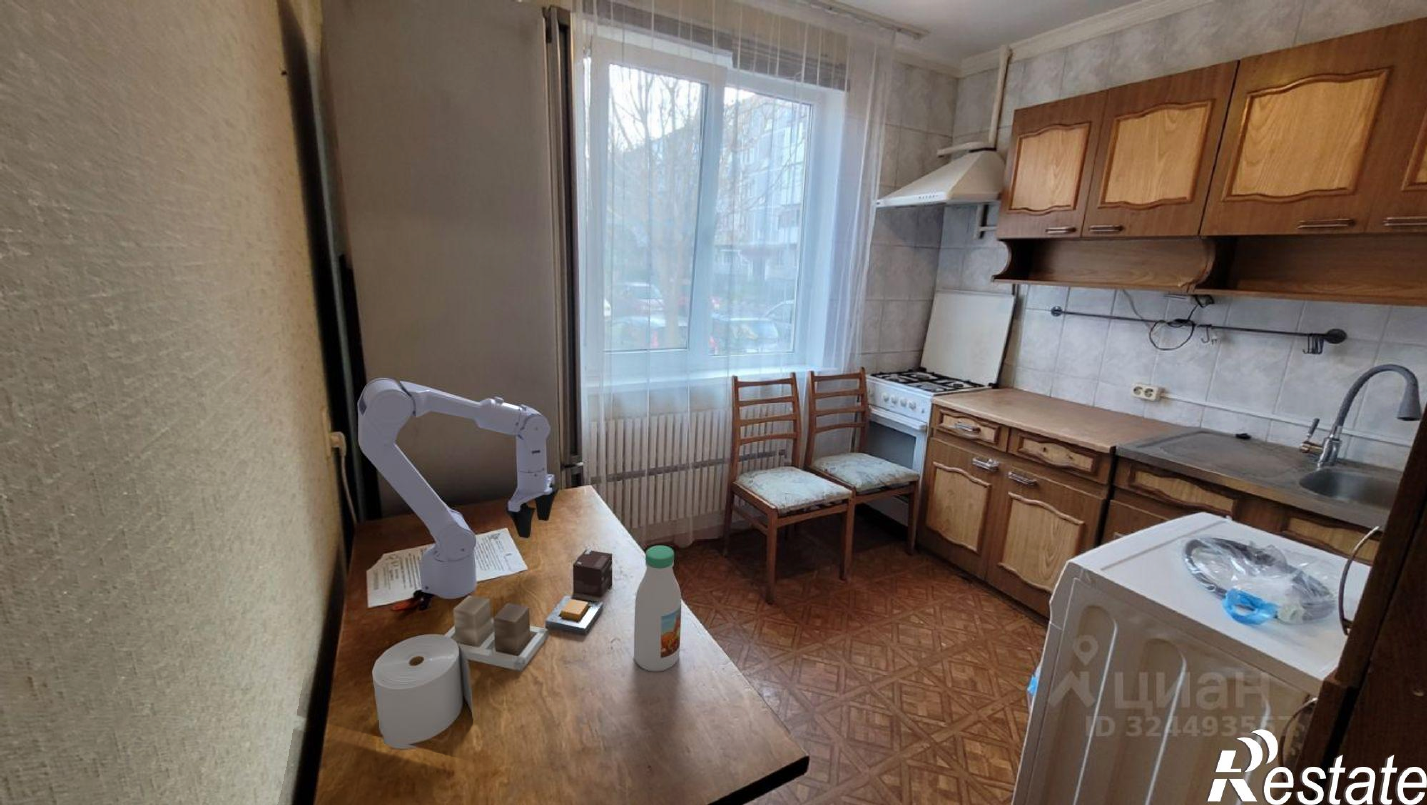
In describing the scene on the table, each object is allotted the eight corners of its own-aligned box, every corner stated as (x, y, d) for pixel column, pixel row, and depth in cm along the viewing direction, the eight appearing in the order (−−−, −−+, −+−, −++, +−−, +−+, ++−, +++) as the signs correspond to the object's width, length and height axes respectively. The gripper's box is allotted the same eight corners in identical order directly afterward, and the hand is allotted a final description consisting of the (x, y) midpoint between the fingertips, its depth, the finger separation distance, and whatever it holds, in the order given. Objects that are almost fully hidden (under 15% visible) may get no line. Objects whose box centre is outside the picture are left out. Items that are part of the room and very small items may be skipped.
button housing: (545, 632, 97) (545, 620, 96) (565, 606, 104) (565, 595, 103) (585, 640, 95) (585, 628, 95) (602, 614, 103) (602, 602, 102)
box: (601, 602, 106) (601, 569, 104) (572, 597, 107) (571, 564, 105) (613, 585, 112) (613, 553, 110) (585, 580, 113) (585, 548, 111)
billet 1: (456, 645, 91) (453, 609, 89) (471, 630, 95) (468, 595, 93) (477, 650, 90) (474, 613, 89) (491, 634, 94) (489, 599, 92)
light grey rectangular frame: (436, 656, 90) (434, 644, 89) (468, 624, 98) (467, 612, 97) (521, 676, 87) (521, 663, 86) (548, 641, 95) (547, 629, 94)
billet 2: (495, 654, 90) (493, 617, 88) (509, 638, 94) (507, 602, 92) (517, 659, 89) (515, 622, 87) (530, 642, 93) (529, 607, 91)
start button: (561, 625, 98) (560, 610, 98) (570, 612, 102) (570, 598, 101) (579, 628, 98) (579, 614, 97) (588, 616, 101) (588, 602, 100)
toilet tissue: (385, 700, 81) (377, 643, 78) (473, 679, 86) (468, 624, 83) (374, 760, 72) (365, 698, 69) (474, 733, 76) (469, 673, 74)
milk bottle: (643, 678, 88) (645, 569, 82) (627, 648, 94) (629, 544, 89) (686, 664, 91) (691, 558, 86) (668, 636, 98) (672, 536, 93)
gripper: (530, 483, 102) (533, 548, 106) (567, 457, 116) (568, 515, 120) (497, 478, 104) (500, 542, 107) (536, 453, 118) (538, 510, 121)
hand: (534, 528), depth 114 cm, fingers open, 7 cm apart
